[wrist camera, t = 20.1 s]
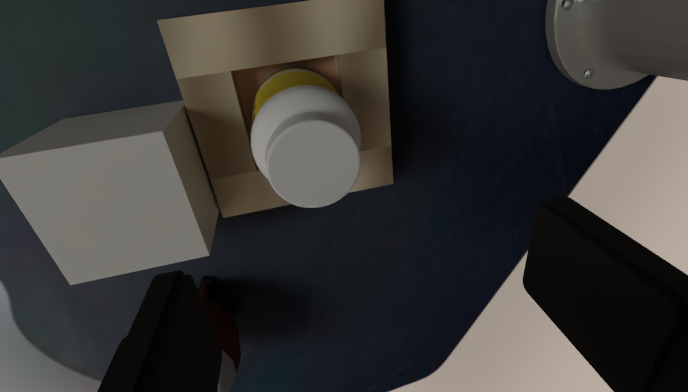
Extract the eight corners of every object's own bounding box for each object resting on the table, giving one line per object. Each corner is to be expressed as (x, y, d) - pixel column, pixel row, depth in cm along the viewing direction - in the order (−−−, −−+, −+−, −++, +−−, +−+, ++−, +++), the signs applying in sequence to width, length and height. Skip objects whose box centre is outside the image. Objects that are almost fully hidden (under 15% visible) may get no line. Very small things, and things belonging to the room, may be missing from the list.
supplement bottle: (237, 84, 22) (222, 132, 13) (318, 51, 22) (356, 77, 13) (274, 160, 24) (282, 239, 16) (347, 130, 24) (393, 193, 16)
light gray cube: (188, 99, 22) (162, 131, 16) (221, 199, 25) (209, 255, 19) (63, 118, 21) (-12, 160, 15) (115, 220, 24) (70, 285, 19)
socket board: (373, -8, 21) (383, -10, 19) (384, 172, 27) (393, 183, 25) (166, 19, 20) (156, 20, 18) (225, 203, 25) (223, 218, 24)
